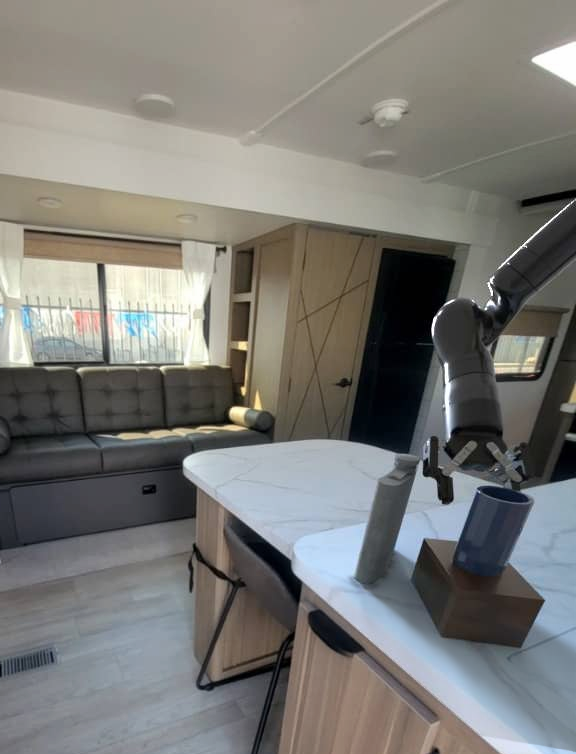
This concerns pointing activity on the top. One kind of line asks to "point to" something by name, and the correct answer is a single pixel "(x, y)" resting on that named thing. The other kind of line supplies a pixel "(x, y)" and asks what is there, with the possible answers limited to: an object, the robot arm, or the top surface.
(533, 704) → the top surface
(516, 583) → the walnut wood box
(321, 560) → the top surface
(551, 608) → the top surface
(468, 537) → the blue cup
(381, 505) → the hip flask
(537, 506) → the top surface
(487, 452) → the robot arm
